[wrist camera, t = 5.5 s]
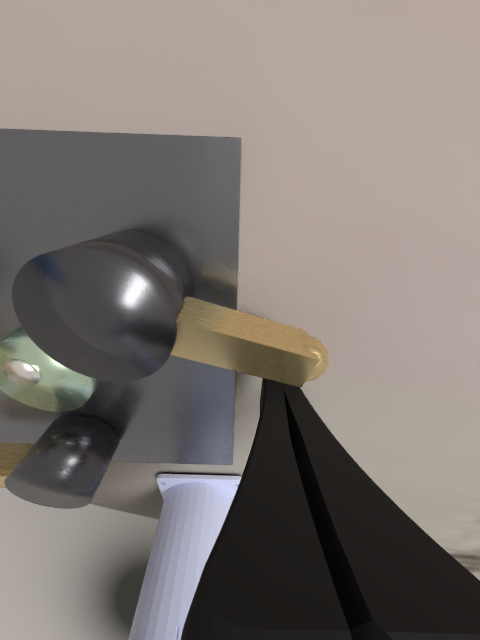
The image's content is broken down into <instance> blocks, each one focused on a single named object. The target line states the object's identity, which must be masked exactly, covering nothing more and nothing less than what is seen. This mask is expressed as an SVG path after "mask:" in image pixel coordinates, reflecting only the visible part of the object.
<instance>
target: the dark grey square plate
mask: <svg viewBox="0 0 480 640" xmlns="http://www.w3.org/2000/svg"><path fill="white" fill-rule="evenodd" d="M240 174H241V138H235V137H209V136H182V135H155V134H129V133H102V132H76V131H49V130H23V129H0V443H31V444H35V443H36V442H37V440H38V439H39V438H40V437H41V436H42V434H43V433H44V432H45V431H46V430H47V428H48V427H49V426H50V425H51V424H52V422H53V421H54V420H55V419H57V418H59V417H62V416H67V415H80V416H86V417H90V418H93V419H96V420H99V421H101V422H103V423H105V424H107V425H108V426H110V427H111V428H112V429H113V430H114V431H115V432H116V433H117V434H118V436H119V439H120V443H119V446H118V448H117V450H116V452H115V454H114V456H113V458H112V460H111V462H141V463H177V464H213V465H233V437H234V400H235V371H233V370H229V369H225V368H221V367H217V366H213V365H209V364H205V363H201V362H197V361H193V360H189V359H185V358H181V357H177V356H173V355H170V356H169V358H168V360H167V361H166V363H165V364H164V365H163V366H162V367H161V368H160V369H159V370H158V371H156V372H155V373H153V374H152V375H149V376H147V377H145V378H142V379H139V380H134V381H126V382H113V381H104V380H99V379H95V378H91V377H88V376H85V375H82V374H79V373H77V372H75V371H72V370H70V369H68V368H67V367H65V366H63V365H61V364H60V363H58V362H56V361H55V360H53V359H52V358H51V357H49V356H48V355H47V354H45V353H44V352H43V351H42V350H41V349H40V348H39V347H38V346H37V345H36V344H35V343H34V342H33V341H32V340H31V339H30V337H29V336H28V335H27V334H26V332H25V331H24V329H23V328H22V326H21V324H20V322H19V320H18V318H17V316H16V313H15V310H14V307H13V301H12V287H13V282H14V279H15V277H16V275H17V273H18V272H19V270H20V269H21V268H22V266H23V265H25V264H26V263H27V262H28V261H29V260H31V259H33V258H35V257H36V256H38V255H41V254H44V253H47V252H51V251H54V250H57V249H61V248H64V247H67V246H71V245H74V244H77V243H80V242H84V241H87V240H90V239H94V238H97V237H100V236H104V235H107V234H110V233H113V232H118V231H139V232H143V233H147V234H149V235H152V236H154V237H156V238H158V239H160V240H162V241H163V242H165V243H166V244H168V245H169V246H170V247H171V248H173V249H174V250H175V251H176V252H177V253H178V254H179V256H180V257H181V258H182V259H183V261H184V262H185V264H186V265H187V267H188V269H189V271H190V273H191V276H192V279H193V283H194V298H196V299H199V300H203V301H206V302H210V303H213V304H216V305H220V306H223V307H227V308H230V309H233V310H237V287H238V249H239V212H240Z"/></svg>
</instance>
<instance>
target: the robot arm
mask: <svg viewBox="0 0 480 640" xmlns="http://www.w3.org/2000/svg"><path fill="white" fill-rule="evenodd" d="M156 481H157V484H158V486H159V489H160V492H161V495H162V498H163V501H164V503H163V507H162V511H161V515H160V519H159V523H158V527H157V530H156V534H155V538H154V542H153V546H152V550H151V554H150V558H149V562H148V566H147V570H146V574H145V578H144V581H143V585H142V589H141V593H140V597H139V601H138V605H137V609H136V613H135V617H134V620H133V625H132V628H131V632H130V636H129V640H480V581H479V580H478V579H477V578H476V577H475V576H474V575H473V574H471V573H470V572H469V571H468V570H467V569H466V568H465V567H463V566H462V565H461V564H460V563H459V562H458V561H457V560H455V559H454V558H453V557H452V556H451V555H450V554H449V553H447V552H446V551H445V550H444V549H443V548H442V547H441V546H440V545H438V544H437V543H436V542H435V541H434V540H433V539H432V538H431V537H430V536H429V535H428V534H426V533H425V532H424V531H423V530H422V529H421V528H420V527H419V526H418V525H417V524H416V523H415V522H414V521H413V520H412V519H411V518H409V517H408V516H407V515H406V514H405V513H404V512H403V511H402V510H401V509H400V508H399V507H398V506H397V505H396V504H395V503H394V502H393V501H392V500H391V499H390V498H389V497H388V496H387V495H386V494H385V493H384V492H383V491H382V490H381V489H380V488H379V487H378V486H377V485H376V484H375V483H374V482H373V481H372V479H371V478H370V477H369V476H368V475H367V474H366V473H365V472H364V471H363V470H362V469H361V467H360V466H359V465H358V464H357V463H356V462H355V461H354V460H353V458H352V457H351V456H350V455H349V454H348V453H347V452H346V450H345V449H344V448H343V447H342V446H341V444H340V443H339V442H338V441H337V439H336V438H335V437H334V436H333V434H332V433H331V432H330V430H329V429H328V428H327V426H326V425H325V424H324V422H323V421H322V420H321V418H320V417H319V415H318V414H317V413H316V411H315V410H314V408H313V407H312V405H311V404H310V403H309V401H308V399H307V398H306V396H305V395H304V393H303V392H302V390H301V389H300V387H298V386H294V385H290V384H286V383H282V382H278V381H274V380H269V379H265V378H263V381H262V389H261V397H260V418H259V422H258V426H257V430H256V434H255V437H254V441H253V444H252V448H251V451H250V454H249V457H248V460H247V463H246V466H245V469H244V472H243V475H242V477H241V476H225V475H189V474H159V475H158V476H157V479H156Z"/></svg>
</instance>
